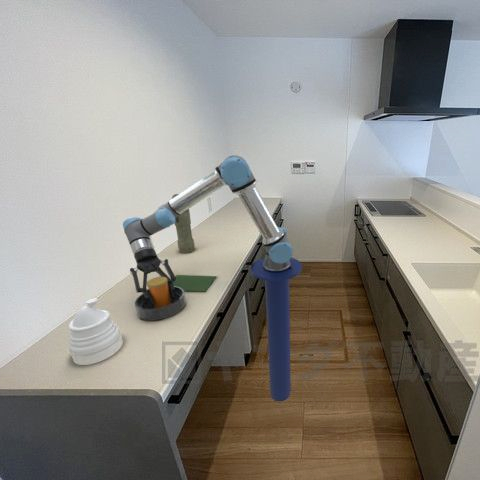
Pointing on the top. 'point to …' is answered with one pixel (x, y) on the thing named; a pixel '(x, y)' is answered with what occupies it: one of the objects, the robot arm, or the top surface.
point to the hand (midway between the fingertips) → (163, 301)
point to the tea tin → (159, 291)
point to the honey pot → (93, 335)
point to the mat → (193, 282)
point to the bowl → (150, 313)
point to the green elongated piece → (184, 232)
